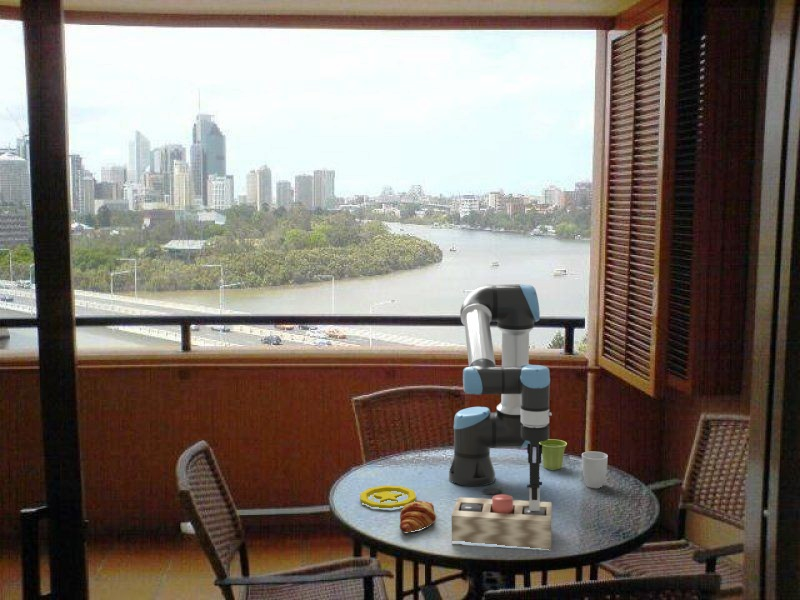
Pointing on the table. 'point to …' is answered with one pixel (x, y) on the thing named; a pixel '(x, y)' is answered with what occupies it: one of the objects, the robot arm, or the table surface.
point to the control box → (502, 525)
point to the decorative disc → (387, 496)
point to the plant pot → (553, 453)
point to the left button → (471, 507)
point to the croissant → (416, 516)
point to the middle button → (502, 504)
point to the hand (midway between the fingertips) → (534, 509)
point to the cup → (594, 468)
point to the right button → (534, 512)
